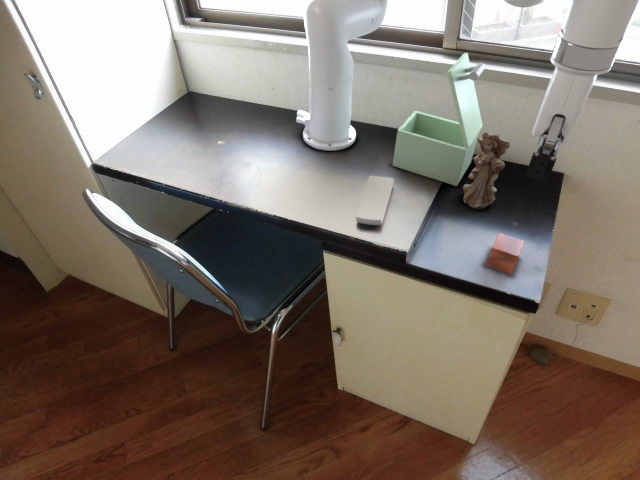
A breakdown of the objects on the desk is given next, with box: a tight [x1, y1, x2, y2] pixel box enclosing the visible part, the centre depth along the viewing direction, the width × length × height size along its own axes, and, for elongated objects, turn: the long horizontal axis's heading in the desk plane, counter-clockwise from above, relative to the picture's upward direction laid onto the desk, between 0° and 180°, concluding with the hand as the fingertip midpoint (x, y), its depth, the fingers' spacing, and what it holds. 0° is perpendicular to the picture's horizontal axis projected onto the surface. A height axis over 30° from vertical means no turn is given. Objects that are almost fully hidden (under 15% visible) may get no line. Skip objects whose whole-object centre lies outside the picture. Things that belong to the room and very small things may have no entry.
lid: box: [446, 52, 486, 148], centre depth 91 cm, size 15×10×4 cm
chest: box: [392, 110, 480, 187], centre depth 102 cm, size 15×10×9 cm
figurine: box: [462, 131, 511, 210], centre depth 91 cm, size 7×6×15 cm
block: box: [485, 232, 525, 276], centre depth 81 cm, size 4×4×4 cm
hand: (542, 162), depth 74 cm, fingers open, 9 cm apart
